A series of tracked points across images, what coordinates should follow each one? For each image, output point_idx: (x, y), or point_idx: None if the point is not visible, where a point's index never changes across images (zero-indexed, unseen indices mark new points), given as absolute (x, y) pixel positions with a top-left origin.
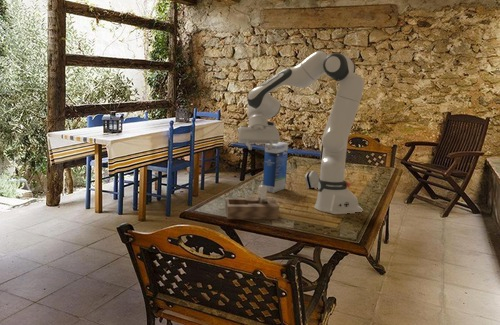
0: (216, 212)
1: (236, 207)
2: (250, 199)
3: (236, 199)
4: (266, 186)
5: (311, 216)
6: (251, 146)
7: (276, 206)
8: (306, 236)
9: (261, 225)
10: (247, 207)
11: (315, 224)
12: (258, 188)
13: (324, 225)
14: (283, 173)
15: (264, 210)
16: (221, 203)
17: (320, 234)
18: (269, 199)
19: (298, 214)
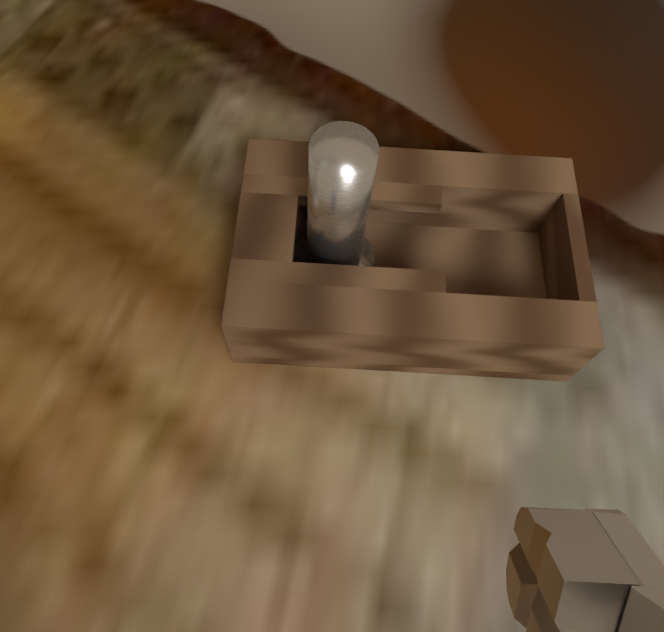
0: (616, 324)
1: (516, 159)
2: (411, 292)
3: (517, 297)
4: (314, 134)
5: (32, 223)
6: (558, 532)
7: (263, 143)
8: (204, 4)
9: (370, 119)
10: (448, 154)
11: (85, 113)
12: (375, 170)
13: (46, 99)
14: None
15: None
16: None
17: (132, 15)
18: (263, 289)
19: (95, 261)
